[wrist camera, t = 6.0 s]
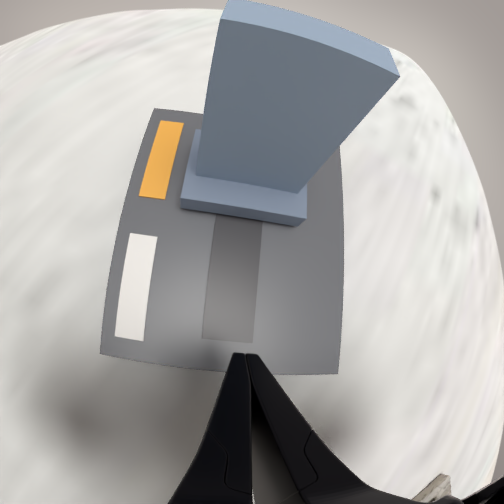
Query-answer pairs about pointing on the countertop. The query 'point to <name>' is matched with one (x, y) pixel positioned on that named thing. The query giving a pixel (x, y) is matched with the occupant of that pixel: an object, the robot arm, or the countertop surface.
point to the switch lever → (278, 110)
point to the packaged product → (435, 489)
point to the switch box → (222, 271)
